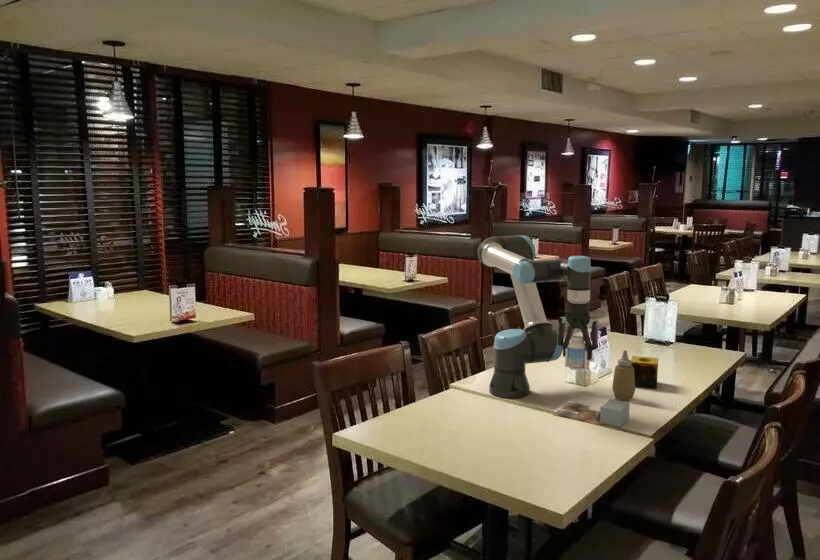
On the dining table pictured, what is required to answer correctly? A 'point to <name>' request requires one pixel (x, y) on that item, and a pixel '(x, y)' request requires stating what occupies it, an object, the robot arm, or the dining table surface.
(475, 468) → the dining table surface
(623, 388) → the squeeze bottle
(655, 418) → the dining table surface
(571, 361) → the pill bottle
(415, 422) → the dining table surface
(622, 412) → the cover
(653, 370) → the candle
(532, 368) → the dining table surface
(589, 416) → the board
